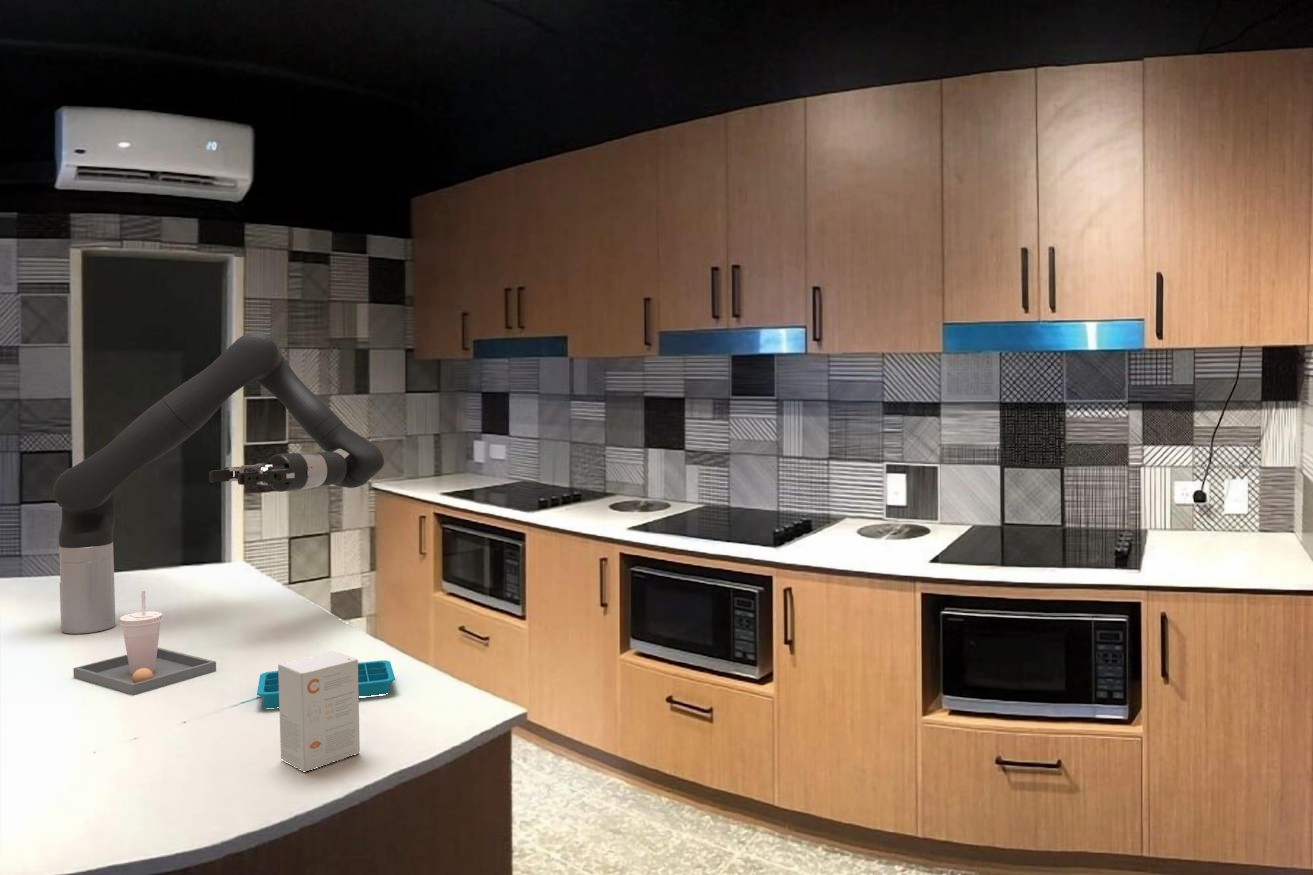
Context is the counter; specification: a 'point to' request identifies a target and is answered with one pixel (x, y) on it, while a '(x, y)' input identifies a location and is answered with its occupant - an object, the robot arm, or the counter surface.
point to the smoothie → (141, 637)
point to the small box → (319, 709)
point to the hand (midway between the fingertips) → (224, 477)
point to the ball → (142, 675)
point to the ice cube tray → (370, 682)
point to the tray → (167, 672)
